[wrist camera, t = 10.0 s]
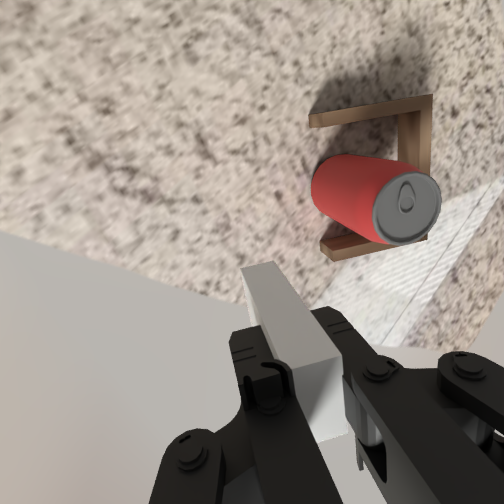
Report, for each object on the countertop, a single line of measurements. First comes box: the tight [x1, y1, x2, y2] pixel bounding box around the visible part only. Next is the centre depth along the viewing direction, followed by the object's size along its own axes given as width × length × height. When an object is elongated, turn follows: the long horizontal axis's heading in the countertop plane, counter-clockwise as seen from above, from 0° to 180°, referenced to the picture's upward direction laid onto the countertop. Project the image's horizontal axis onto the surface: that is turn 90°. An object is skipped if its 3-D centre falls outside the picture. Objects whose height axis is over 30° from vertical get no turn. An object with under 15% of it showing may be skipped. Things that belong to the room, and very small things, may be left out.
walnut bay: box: [308, 94, 433, 262], centre depth 34 cm, size 14×11×4 cm
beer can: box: [311, 154, 442, 246], centre depth 30 cm, size 7×7×12 cm
